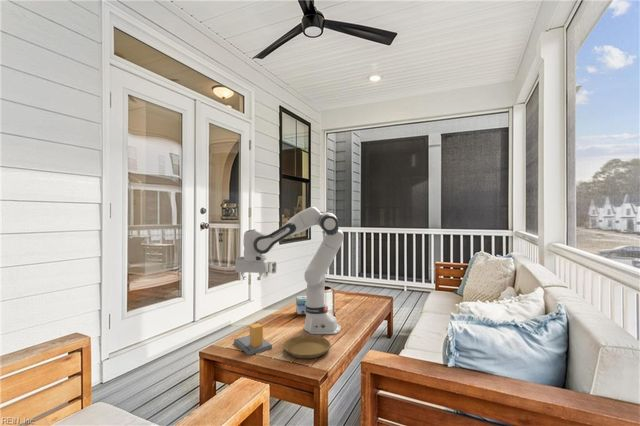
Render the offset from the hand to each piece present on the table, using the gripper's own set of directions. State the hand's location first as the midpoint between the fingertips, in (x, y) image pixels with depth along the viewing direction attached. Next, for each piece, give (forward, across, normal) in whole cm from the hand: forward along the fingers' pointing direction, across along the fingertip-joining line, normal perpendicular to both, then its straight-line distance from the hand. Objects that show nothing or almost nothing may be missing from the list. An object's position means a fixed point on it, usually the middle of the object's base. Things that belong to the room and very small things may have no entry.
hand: (251, 279), depth 192 cm
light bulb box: (+31, +21, +40) cm, 55 cm away
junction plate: (+31, +9, -19) cm, 37 cm away
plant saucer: (+32, +38, -18) cm, 53 cm away
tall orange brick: (+29, +12, -22) cm, 38 cm away
